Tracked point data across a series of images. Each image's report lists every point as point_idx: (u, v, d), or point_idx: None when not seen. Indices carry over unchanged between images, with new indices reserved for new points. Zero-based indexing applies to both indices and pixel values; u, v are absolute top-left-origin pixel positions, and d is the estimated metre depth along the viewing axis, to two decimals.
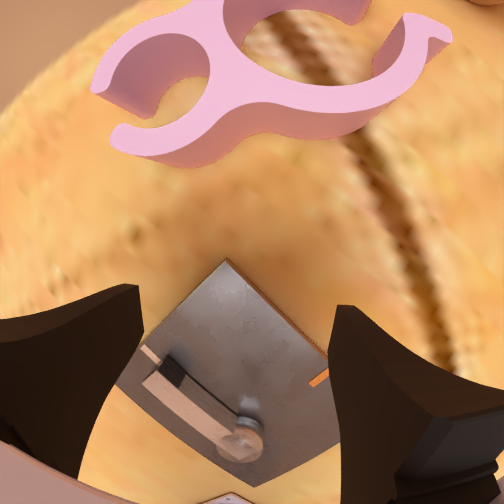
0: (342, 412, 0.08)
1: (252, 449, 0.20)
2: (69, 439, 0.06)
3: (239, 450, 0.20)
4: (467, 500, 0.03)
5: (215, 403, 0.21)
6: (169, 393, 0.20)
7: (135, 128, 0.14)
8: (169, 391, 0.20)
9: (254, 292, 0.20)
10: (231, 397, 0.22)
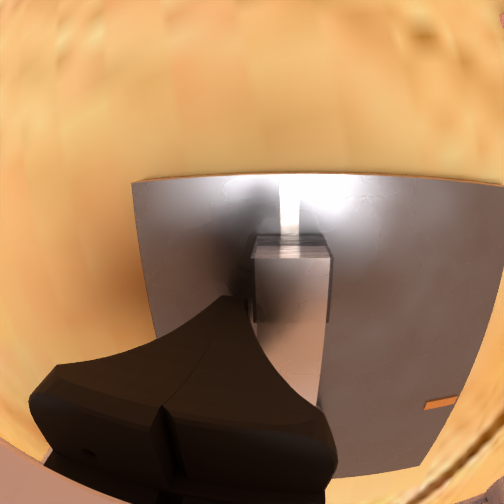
0: None
1: None
2: None
3: None
4: None
5: None
6: (297, 318, 0.09)
7: None
8: (302, 316, 0.09)
9: (503, 255, 0.10)
10: (335, 369, 0.12)
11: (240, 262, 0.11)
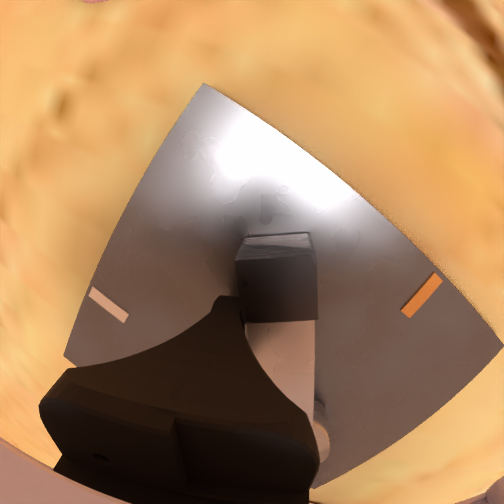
0: None
1: None
2: None
3: None
4: None
5: None
6: (285, 317, 0.09)
7: None
8: (291, 314, 0.09)
9: (272, 131, 0.09)
10: None
11: (128, 351, 0.13)
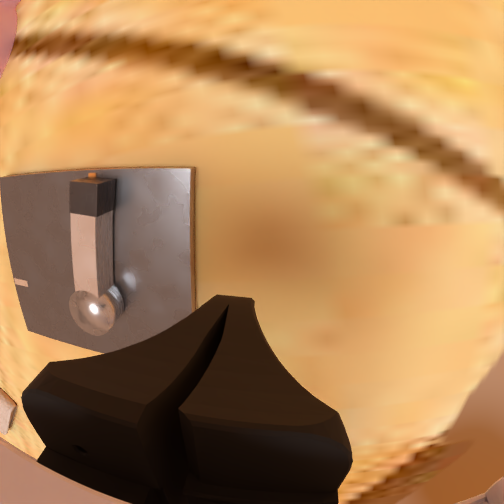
0: None
1: (99, 324, 0.19)
2: None
3: (88, 315, 0.19)
4: None
5: (109, 258, 0.19)
6: (84, 212, 0.16)
7: None
8: (86, 211, 0.16)
9: (18, 176, 0.19)
10: (68, 269, 0.21)
11: (37, 302, 0.22)
